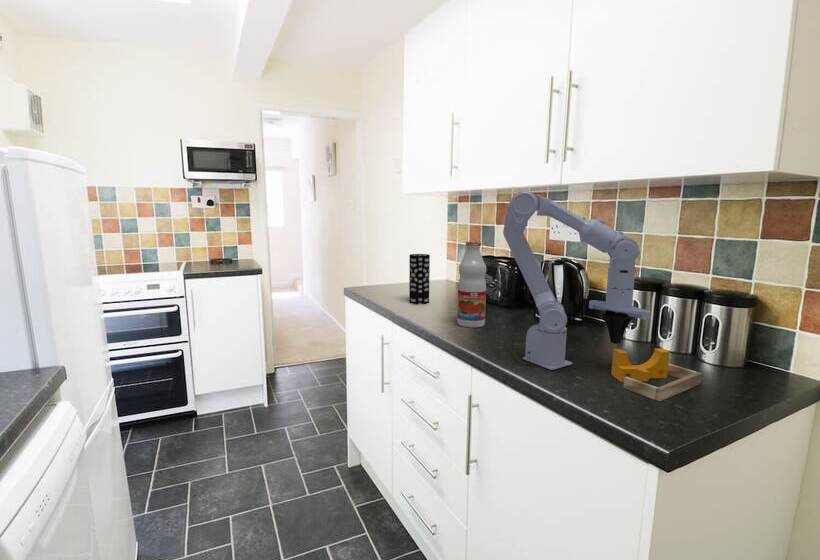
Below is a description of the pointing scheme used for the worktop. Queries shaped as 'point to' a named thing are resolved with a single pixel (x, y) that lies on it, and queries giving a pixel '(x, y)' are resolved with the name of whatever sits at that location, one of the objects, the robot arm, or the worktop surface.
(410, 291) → the spotted tube
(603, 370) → the worktop surface
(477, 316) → the fruit juice
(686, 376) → the tray
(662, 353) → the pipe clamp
